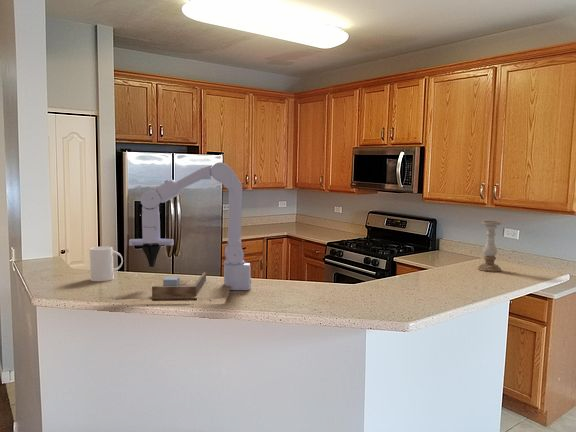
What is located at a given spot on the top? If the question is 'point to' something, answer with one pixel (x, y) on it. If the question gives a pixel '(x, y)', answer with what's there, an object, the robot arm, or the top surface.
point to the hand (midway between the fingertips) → (152, 266)
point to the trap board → (179, 290)
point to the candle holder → (490, 248)
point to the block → (171, 281)
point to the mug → (102, 263)
